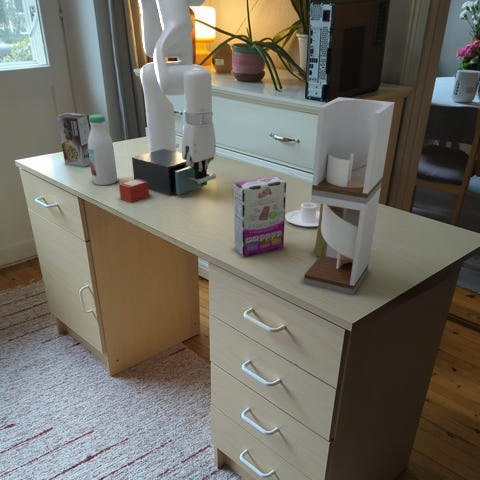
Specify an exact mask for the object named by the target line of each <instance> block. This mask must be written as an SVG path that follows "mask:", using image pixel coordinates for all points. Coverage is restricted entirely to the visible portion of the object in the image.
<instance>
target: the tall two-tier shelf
mask: <svg viewBox="0 0 480 480" xmlns="http://www.w3.org/2000/svg"><path fill="white" fill-rule="evenodd" d="M395 103H396V102H395V101H384V100H373V99H364V98H363V99H361V98H352V97H341V96H338V97H337V98H334V99H332V100H331V101H328V102H326V103H324V104H322V105H321V106H319V107H318V114H317V115H318V116H317V125H316V138H315V148H314V149H315V150H314V161H313V170H312V171H313V172H312V185H311V196H310V197H311V198H310V203H314V204H318V205H319V204H320V205H321V204H323V213H322V222H321V233H322V236H323V238H324V239H325V241H326V242H327V252H326V254H322V255H321V256H320V257H317V259H316V260H315V262H314V263H313V264H312V265H311V266H310V267H309V268H308V269H307V271H306V272H305V273H304V276H303V284H306V285H311V286H315V287H319V288H324V289H326V290H327V289H328V290H331V291H336V292H339V293H345V294H349V295H352V296H353V295H354V293H355V292H356V290H357V289H358V287H359V286H360V284H361V282H362V281H363V279H364V278H365V276H366V275H367V273H368V271H369V263H370V258H371V251H372V247H373V241H374V234H375V226H376V221H377V216H378V215H377V214H378V208H379V202H380V196H381V191H382V190H381V189H382V183H383V177H384V171H385V165H386V158H387V152H388V145H389V140H390V133H391V127H392V121H393V114H394V109H395V108H394V107H395Z"/></svg>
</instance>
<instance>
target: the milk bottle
mask: <svg viewBox="0 0 480 480" xmlns="http://www.w3.org/2000/svg"><path fill="white" fill-rule="evenodd" d="M89 121H90V126H91V131H90V135H89V138H88V152H89V159H90V165H89V166H90V172H91V173H90V174H91V179H92V182H93V184H95V185H100V186H109V185H113V184H115V183H117V182H118V173H117V165H116V155H115V150H114V144H113V139H112V138H111V136H110V133H109V132H108V130H107V128H106V117H105V115H104V114H91V115H89Z"/></svg>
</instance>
